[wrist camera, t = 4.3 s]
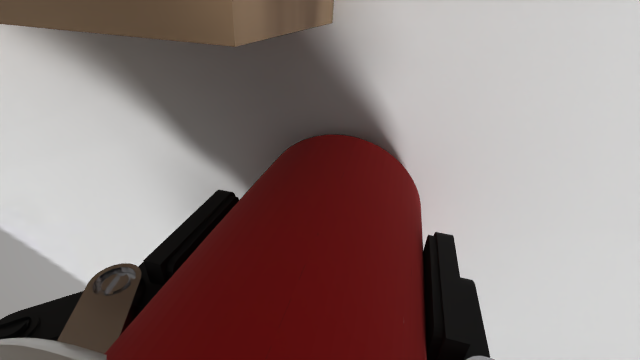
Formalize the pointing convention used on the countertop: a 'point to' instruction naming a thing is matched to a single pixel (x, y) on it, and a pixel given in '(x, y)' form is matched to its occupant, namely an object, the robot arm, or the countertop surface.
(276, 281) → the beverage can
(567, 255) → the countertop surface
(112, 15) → the walnut block
